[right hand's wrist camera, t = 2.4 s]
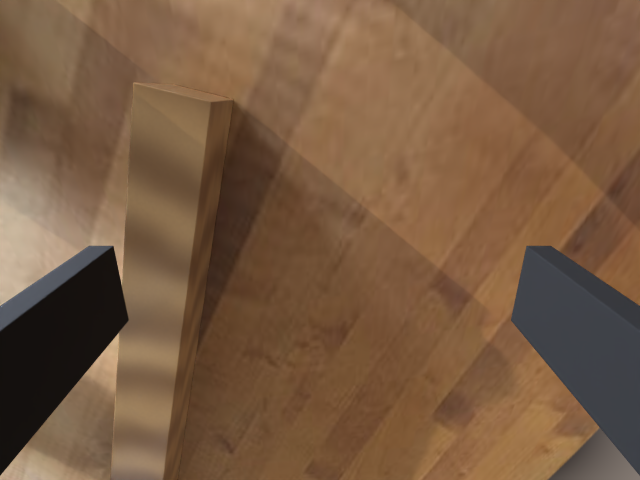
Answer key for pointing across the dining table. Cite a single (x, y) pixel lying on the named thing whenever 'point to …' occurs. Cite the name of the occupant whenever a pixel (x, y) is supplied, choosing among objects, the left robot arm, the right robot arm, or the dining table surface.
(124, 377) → the bar
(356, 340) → the dining table surface
